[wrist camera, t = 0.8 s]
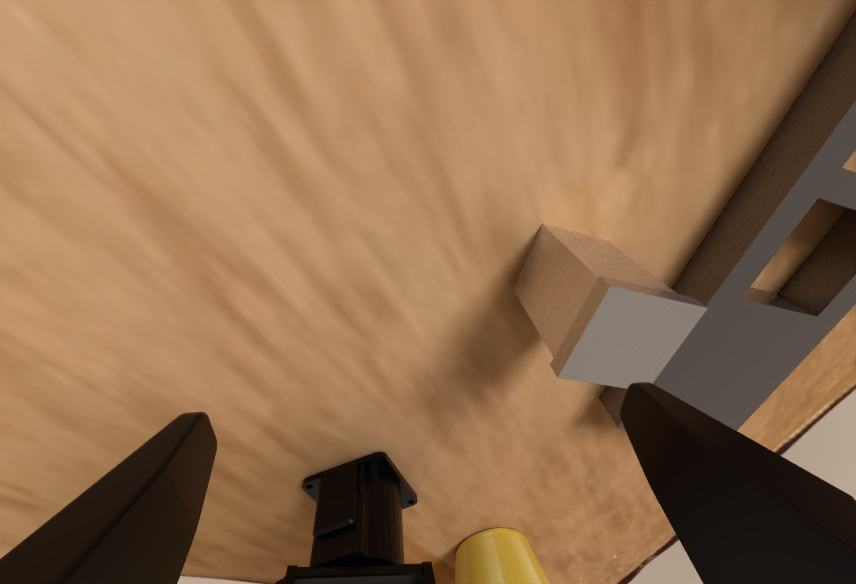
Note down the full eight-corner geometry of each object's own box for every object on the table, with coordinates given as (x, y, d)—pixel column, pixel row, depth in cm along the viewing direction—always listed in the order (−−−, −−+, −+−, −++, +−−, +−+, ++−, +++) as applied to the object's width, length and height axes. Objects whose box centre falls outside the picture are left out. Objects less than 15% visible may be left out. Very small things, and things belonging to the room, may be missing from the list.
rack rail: (701, 413, 29) (727, 441, 27) (598, 398, 27) (617, 426, 25) (1052, 1, 17) (1147, -8, 15) (917, -82, 15) (1005, -106, 13)
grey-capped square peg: (576, 306, 23) (646, 391, 17) (508, 292, 22) (557, 377, 16) (613, 238, 21) (707, 308, 15) (540, 219, 20) (610, 285, 14)
